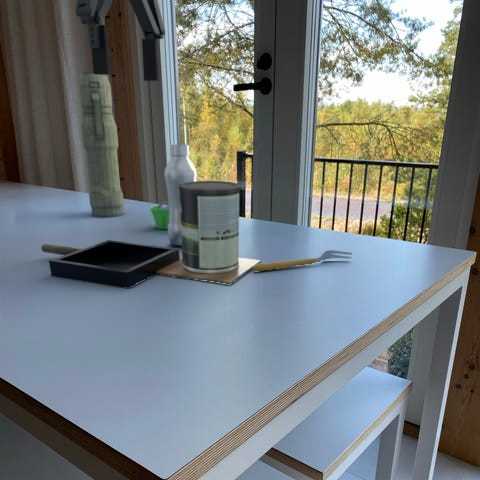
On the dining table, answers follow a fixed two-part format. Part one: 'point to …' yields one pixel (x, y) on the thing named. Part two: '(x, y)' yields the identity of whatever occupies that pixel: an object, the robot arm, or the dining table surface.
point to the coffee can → (210, 226)
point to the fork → (300, 261)
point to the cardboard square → (227, 277)
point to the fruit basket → (161, 215)
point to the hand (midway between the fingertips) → (128, 78)
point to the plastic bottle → (177, 187)
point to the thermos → (100, 146)
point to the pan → (110, 262)
